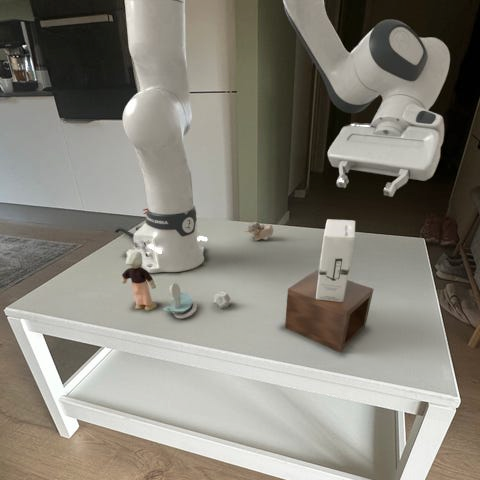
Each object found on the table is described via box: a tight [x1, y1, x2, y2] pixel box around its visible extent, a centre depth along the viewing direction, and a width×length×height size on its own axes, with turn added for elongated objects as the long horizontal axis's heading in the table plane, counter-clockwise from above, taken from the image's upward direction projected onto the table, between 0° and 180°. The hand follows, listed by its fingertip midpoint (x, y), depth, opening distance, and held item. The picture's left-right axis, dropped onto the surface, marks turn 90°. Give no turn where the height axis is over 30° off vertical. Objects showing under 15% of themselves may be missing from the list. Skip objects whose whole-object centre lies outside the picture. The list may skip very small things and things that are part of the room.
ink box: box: [316, 218, 356, 302], centre depth 63 cm, size 9×5×12 cm, turn 166°
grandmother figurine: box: [121, 250, 157, 311], centre depth 75 cm, size 8×4×13 cm, turn 84°
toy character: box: [244, 221, 274, 241], centre depth 109 cm, size 4×8×6 cm, turn 79°
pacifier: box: [162, 282, 198, 319], centre depth 75 cm, size 7×6×6 cm
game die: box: [213, 290, 231, 310], centre depth 78 cm, size 4×4×3 cm
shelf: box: [284, 269, 375, 354], centre depth 69 cm, size 12×10×9 cm
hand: (363, 189), depth 69 cm, fingers open, 8 cm apart
